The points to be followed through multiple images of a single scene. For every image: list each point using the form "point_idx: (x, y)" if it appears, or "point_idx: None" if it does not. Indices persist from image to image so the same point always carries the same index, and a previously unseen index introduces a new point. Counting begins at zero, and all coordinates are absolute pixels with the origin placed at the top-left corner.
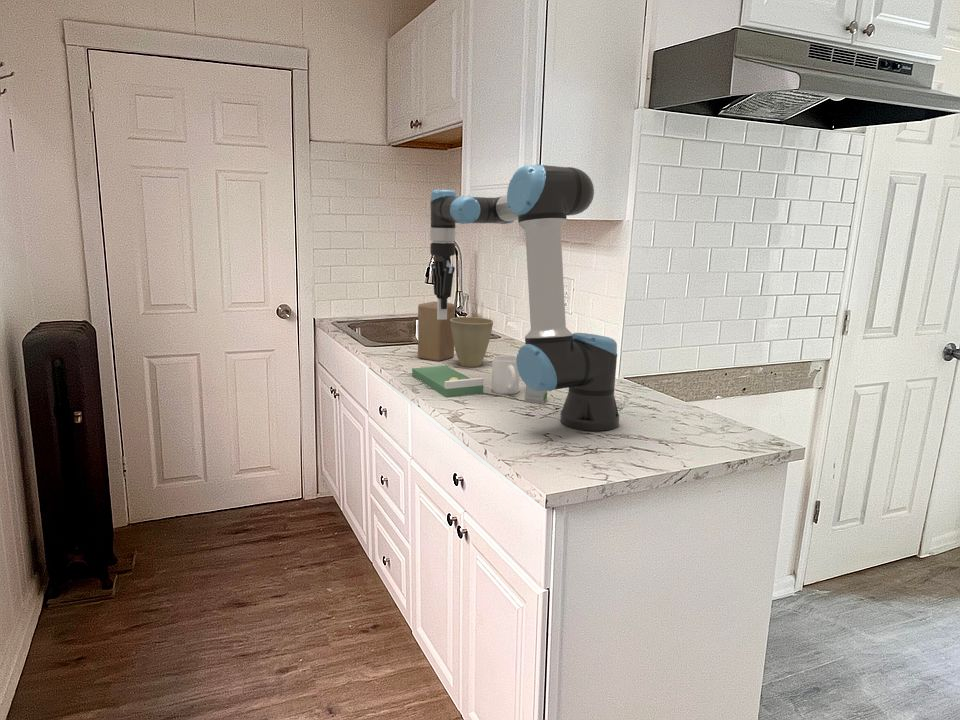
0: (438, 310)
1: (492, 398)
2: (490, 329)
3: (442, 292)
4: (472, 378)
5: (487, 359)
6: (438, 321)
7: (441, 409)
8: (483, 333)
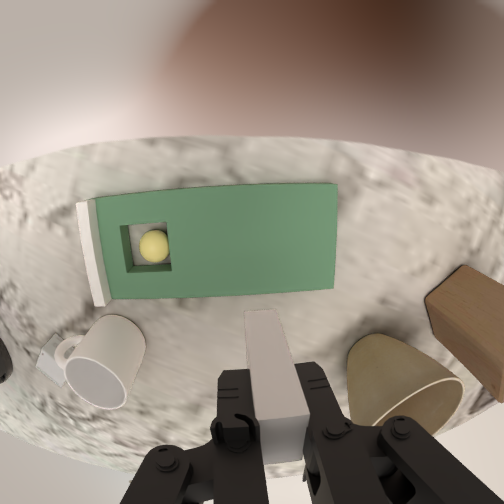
0: (261, 345)
1: (73, 291)
2: None
3: (174, 488)
4: (99, 282)
5: None
6: (484, 343)
7: (28, 164)
8: None
